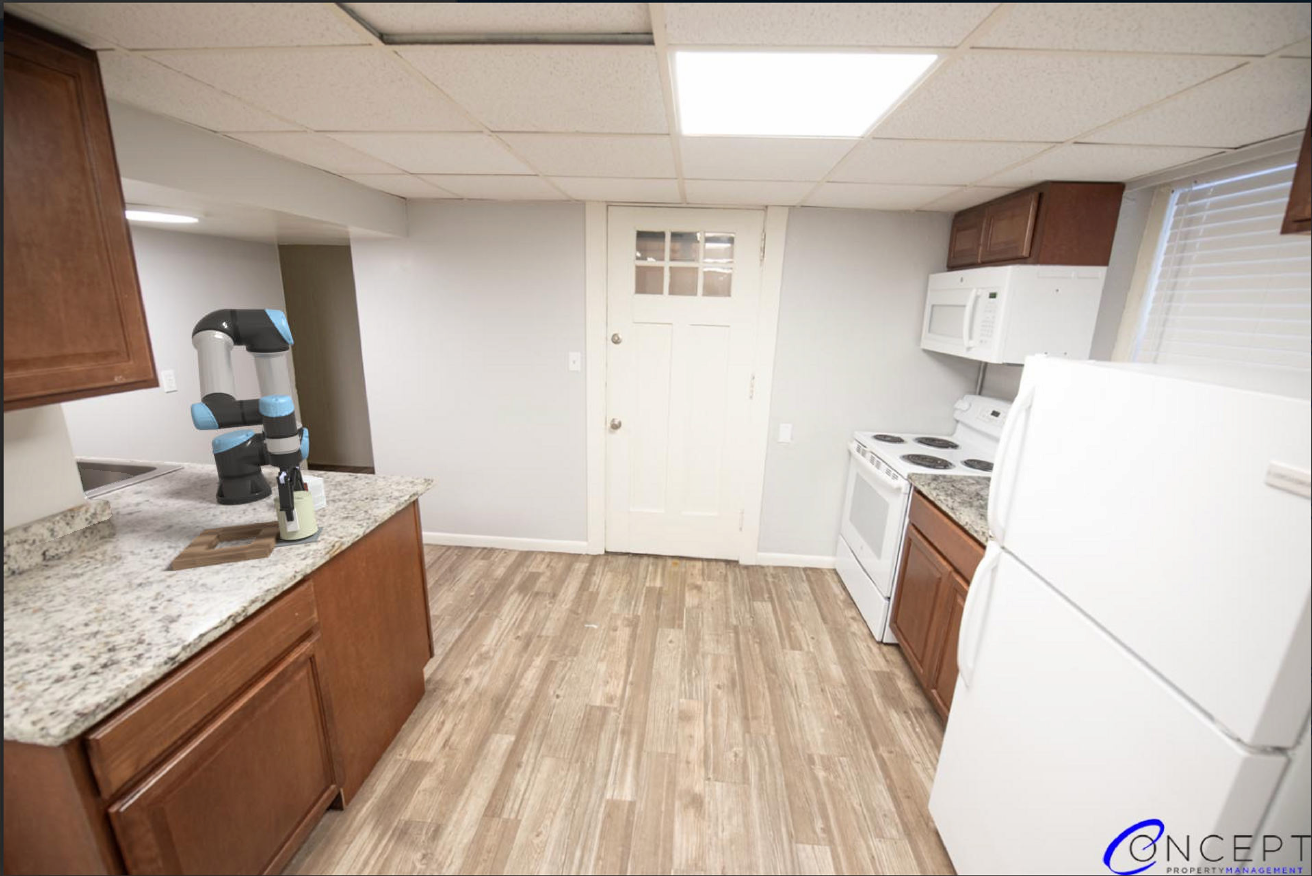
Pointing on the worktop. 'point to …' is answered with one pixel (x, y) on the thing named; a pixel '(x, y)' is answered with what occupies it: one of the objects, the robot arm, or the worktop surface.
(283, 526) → the can
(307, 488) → the small box
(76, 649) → the worktop surface
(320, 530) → the mat
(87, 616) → the worktop surface
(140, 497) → the worktop surface
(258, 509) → the worktop surface
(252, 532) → the housing
